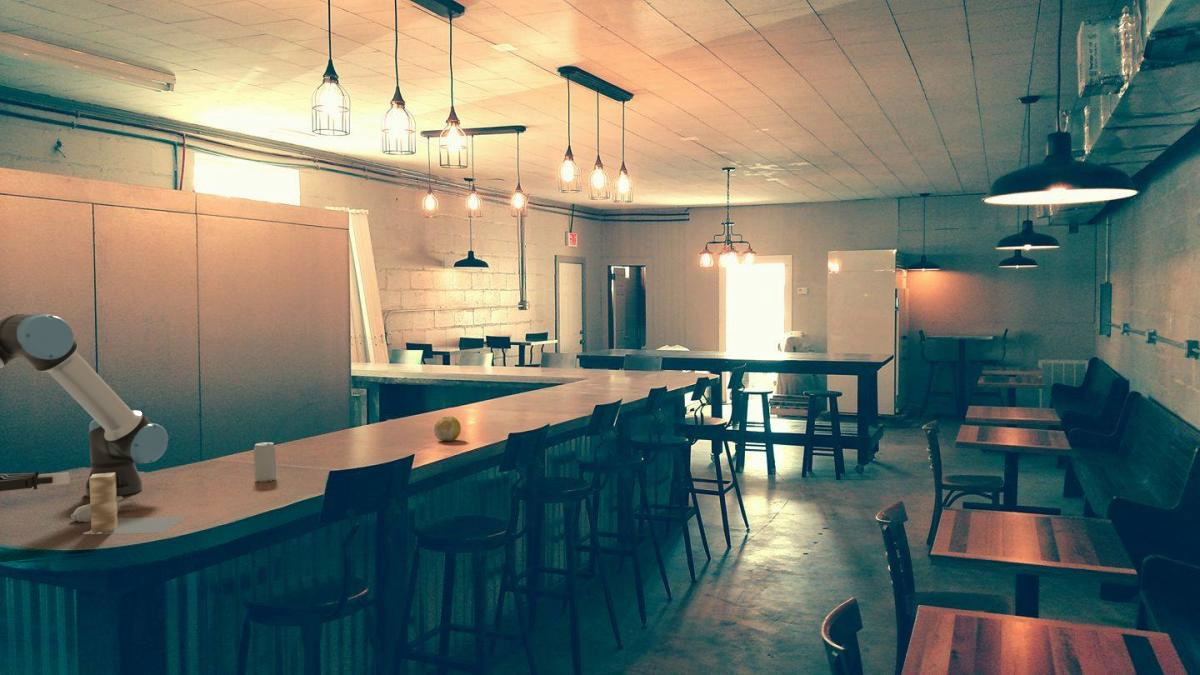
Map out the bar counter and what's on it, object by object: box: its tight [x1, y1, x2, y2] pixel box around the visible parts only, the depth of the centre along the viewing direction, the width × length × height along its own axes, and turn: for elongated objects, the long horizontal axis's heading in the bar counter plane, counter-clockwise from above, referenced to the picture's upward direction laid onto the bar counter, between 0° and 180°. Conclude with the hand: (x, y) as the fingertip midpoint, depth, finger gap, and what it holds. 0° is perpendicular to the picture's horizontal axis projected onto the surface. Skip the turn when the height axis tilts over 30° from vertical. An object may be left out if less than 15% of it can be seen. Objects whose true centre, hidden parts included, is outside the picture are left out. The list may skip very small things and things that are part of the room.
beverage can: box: [253, 441, 277, 483], centre depth 271 cm, size 6×6×12 cm
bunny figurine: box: [70, 496, 137, 523], centre depth 228 cm, size 10×5×15 cm
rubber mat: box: [100, 516, 189, 535], centre depth 218 cm, size 20×15×1 cm
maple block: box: [89, 473, 118, 533], centre depth 214 cm, size 5×5×14 cm
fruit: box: [433, 415, 462, 442], centre depth 339 cm, size 10×11×10 cm
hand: (68, 478), depth 212 cm, fingers closed
